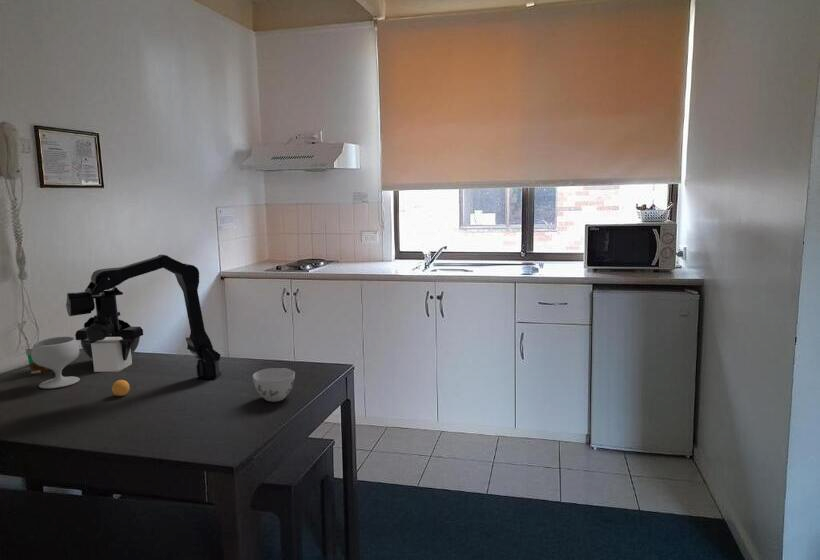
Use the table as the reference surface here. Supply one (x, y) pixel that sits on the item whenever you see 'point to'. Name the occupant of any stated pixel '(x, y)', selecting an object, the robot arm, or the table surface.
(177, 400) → the table surface
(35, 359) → the chalice
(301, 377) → the table surface
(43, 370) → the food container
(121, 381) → the ball
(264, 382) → the teacup
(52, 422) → the table surface
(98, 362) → the white foam cube
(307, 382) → the table surface
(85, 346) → the bowl of black rocks
